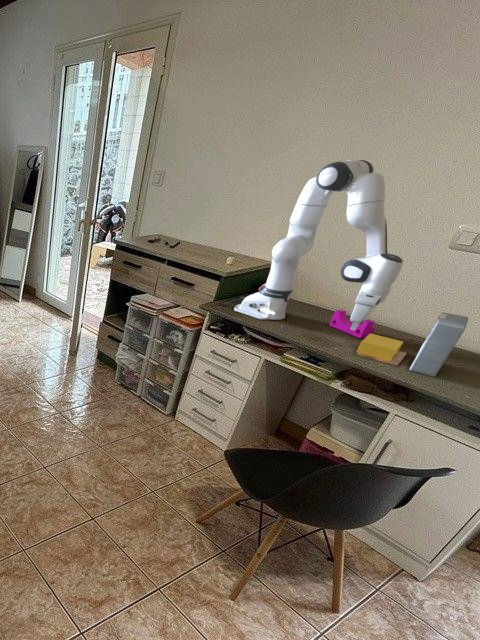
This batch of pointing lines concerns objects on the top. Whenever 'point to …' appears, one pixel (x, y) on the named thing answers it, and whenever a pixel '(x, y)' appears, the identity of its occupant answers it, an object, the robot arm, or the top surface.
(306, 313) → the top surface
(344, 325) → the magenta u-shaped bracket
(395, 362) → the cork pad
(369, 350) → the yellow block
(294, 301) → the top surface
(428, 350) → the hard drive box
